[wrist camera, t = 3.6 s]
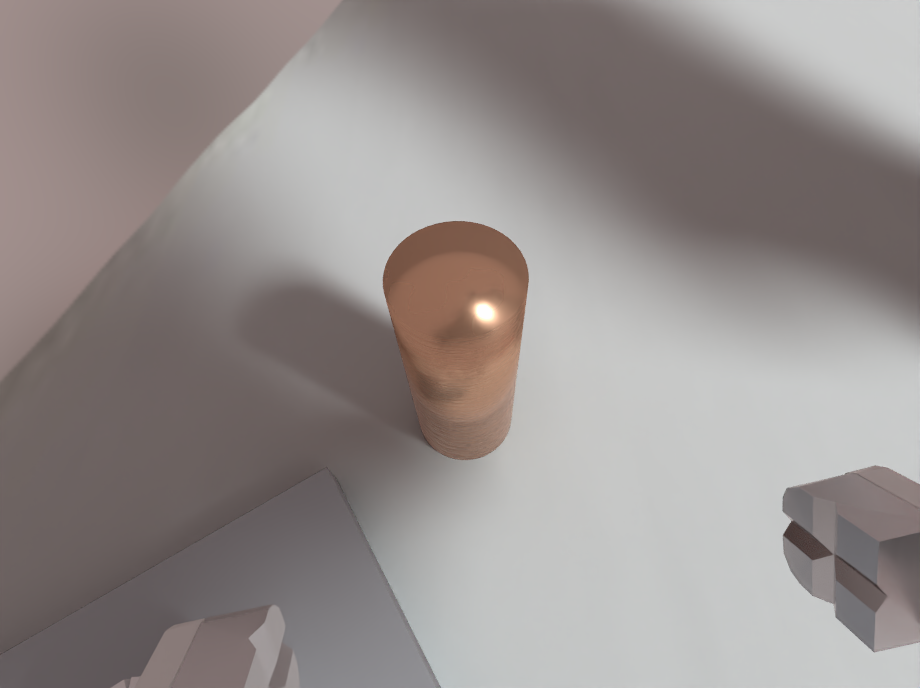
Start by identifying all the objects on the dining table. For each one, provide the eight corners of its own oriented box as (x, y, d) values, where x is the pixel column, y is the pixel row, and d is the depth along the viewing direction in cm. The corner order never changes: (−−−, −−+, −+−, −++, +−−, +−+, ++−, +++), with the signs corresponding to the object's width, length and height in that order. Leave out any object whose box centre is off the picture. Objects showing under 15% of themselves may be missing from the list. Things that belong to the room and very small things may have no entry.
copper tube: (479, 359, 25) (477, 201, 16) (529, 428, 23) (558, 293, 14) (403, 402, 24) (358, 259, 15) (449, 477, 22) (428, 365, 13)
